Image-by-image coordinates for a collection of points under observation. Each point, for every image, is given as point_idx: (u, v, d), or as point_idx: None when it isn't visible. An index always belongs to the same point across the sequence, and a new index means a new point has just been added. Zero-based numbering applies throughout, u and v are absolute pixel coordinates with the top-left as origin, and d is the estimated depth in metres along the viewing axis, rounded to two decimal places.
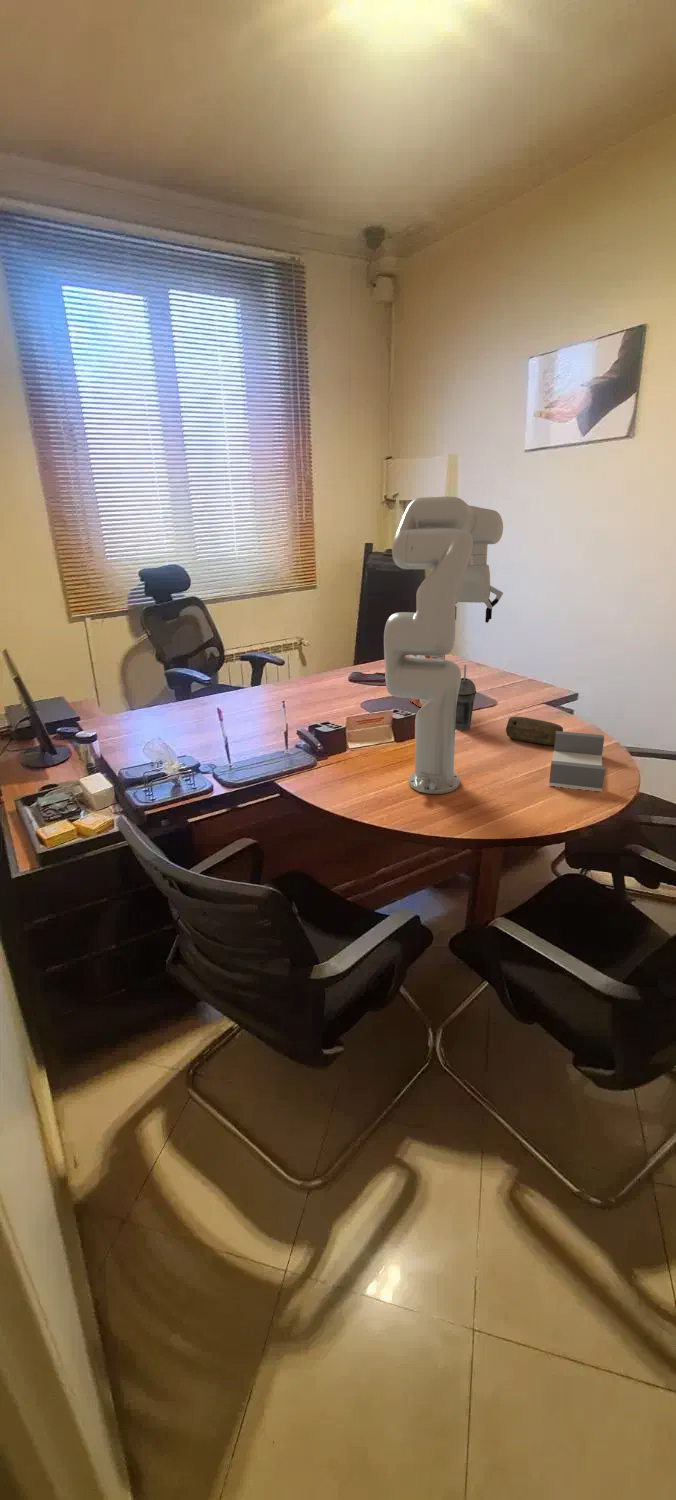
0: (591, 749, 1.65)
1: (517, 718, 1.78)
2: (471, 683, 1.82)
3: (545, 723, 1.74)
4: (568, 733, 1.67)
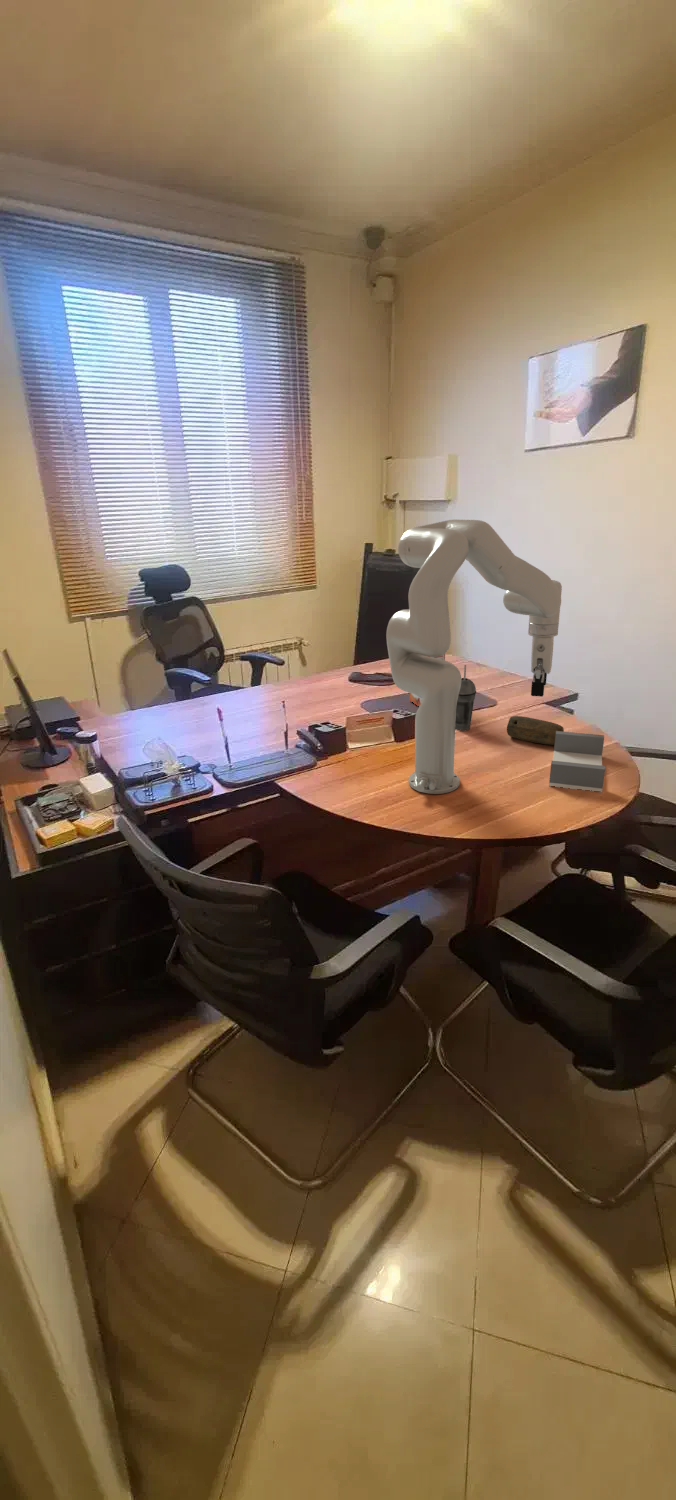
0: (591, 749, 1.65)
1: (518, 717, 1.78)
2: (471, 683, 1.82)
3: (546, 723, 1.74)
4: (568, 733, 1.67)
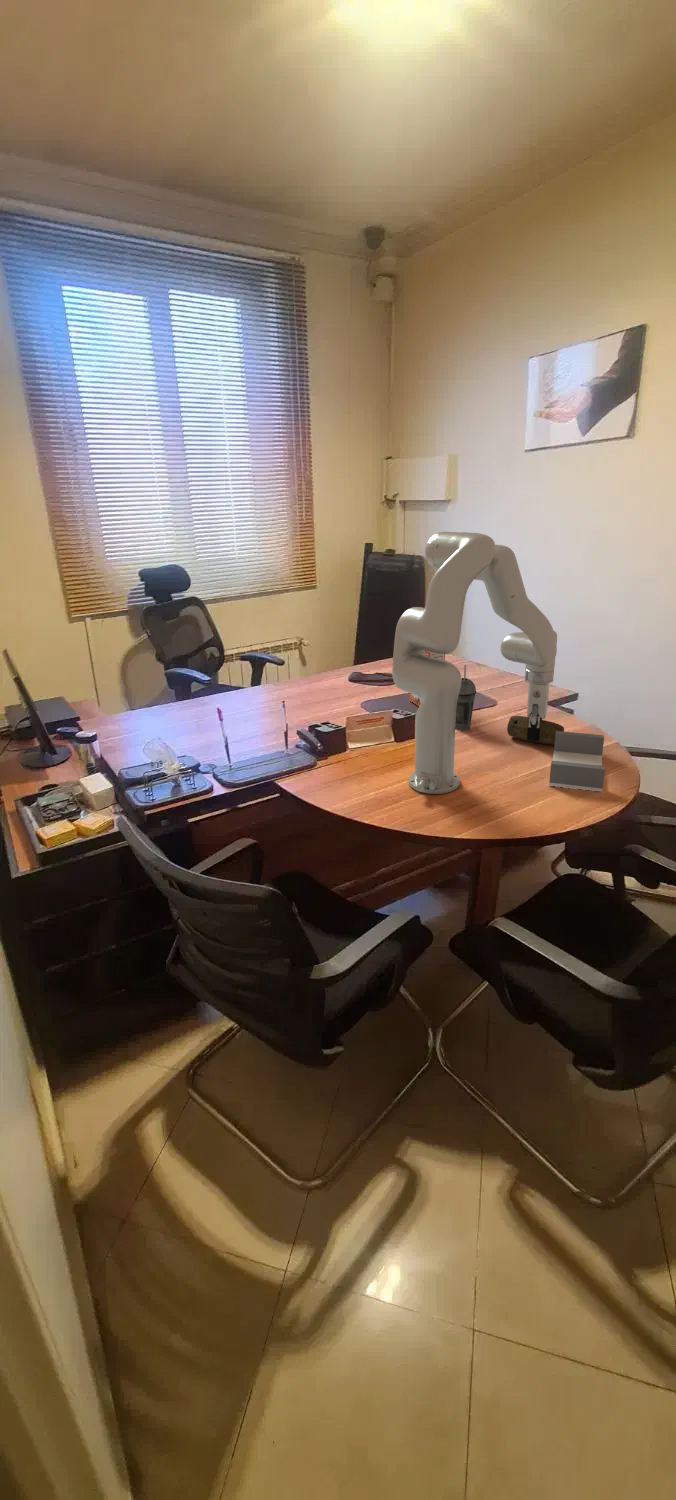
0: (591, 749, 1.65)
1: (518, 717, 1.78)
2: (471, 683, 1.82)
3: (546, 723, 1.74)
4: (568, 733, 1.67)
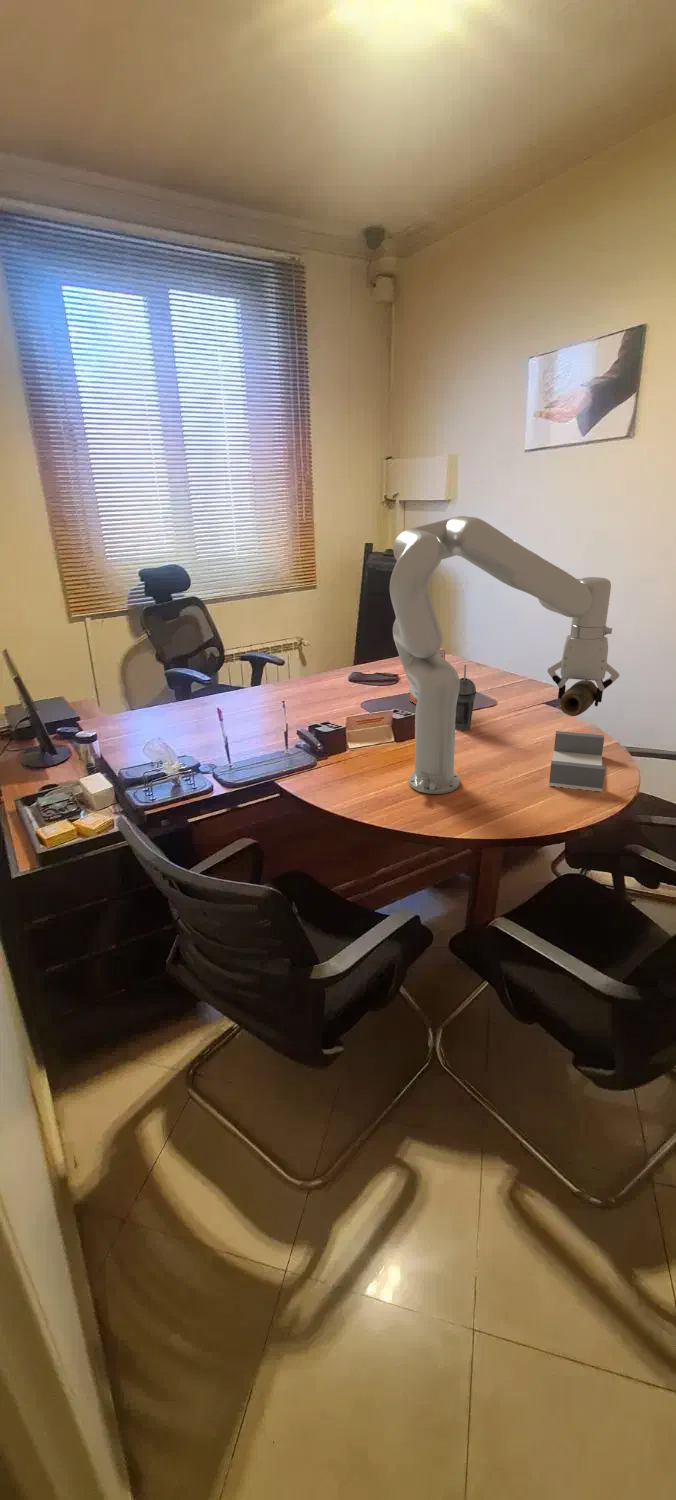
0: (591, 749, 1.65)
1: (579, 690, 1.49)
2: (471, 683, 1.82)
3: (587, 682, 1.55)
4: (568, 733, 1.67)
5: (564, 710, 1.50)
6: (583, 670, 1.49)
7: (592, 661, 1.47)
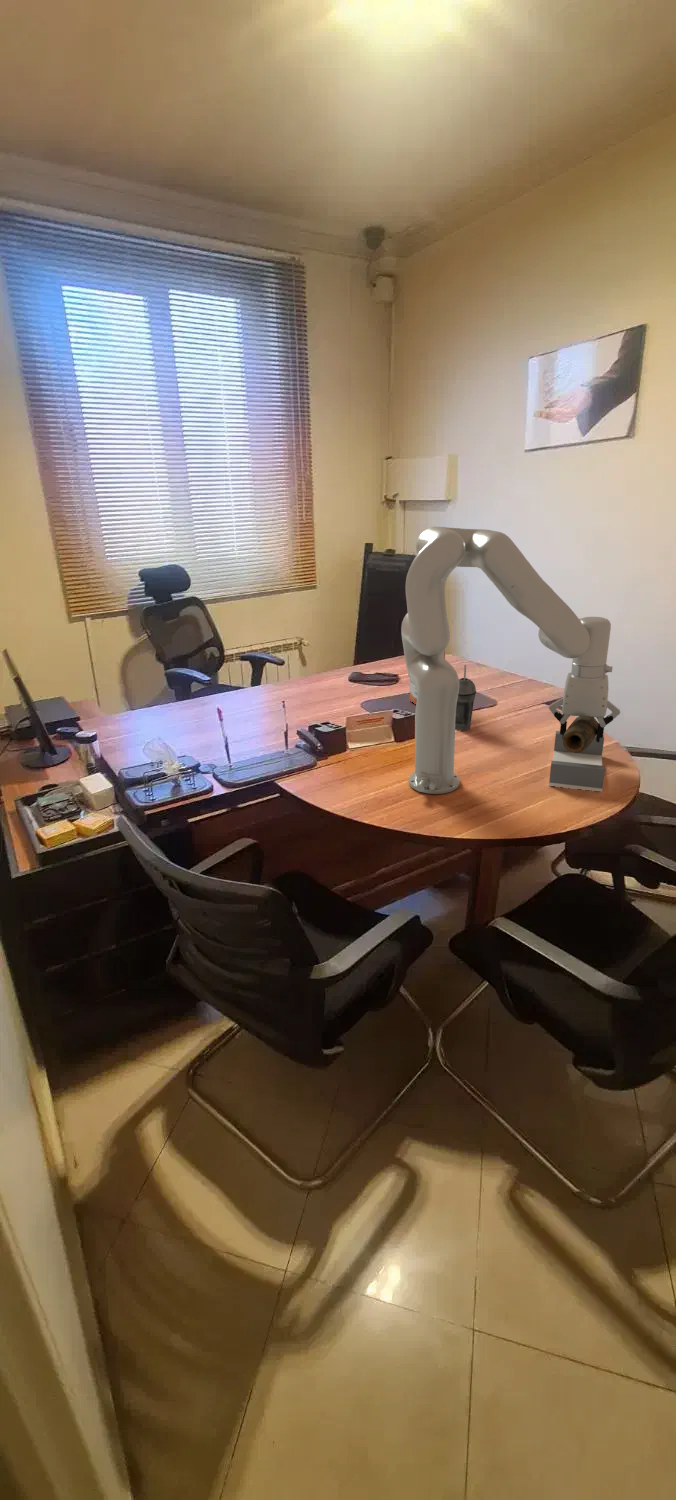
0: (591, 749, 1.65)
1: (581, 727, 1.51)
2: (471, 683, 1.82)
3: (587, 717, 1.57)
4: None
5: (567, 747, 1.52)
6: (584, 708, 1.51)
7: (594, 699, 1.49)
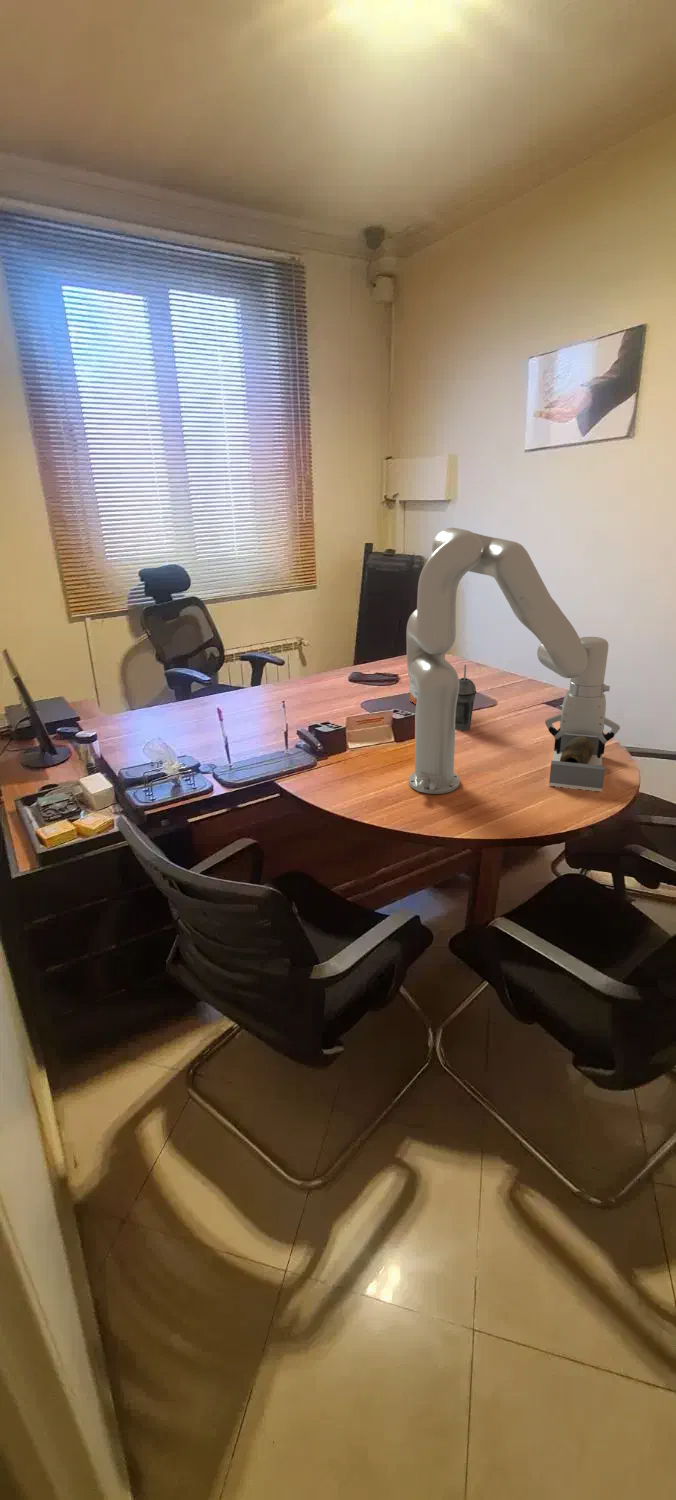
0: None
1: (577, 750, 1.53)
2: (471, 683, 1.82)
3: (583, 739, 1.59)
4: (568, 733, 1.67)
5: None
6: (582, 726, 1.53)
7: (591, 718, 1.51)
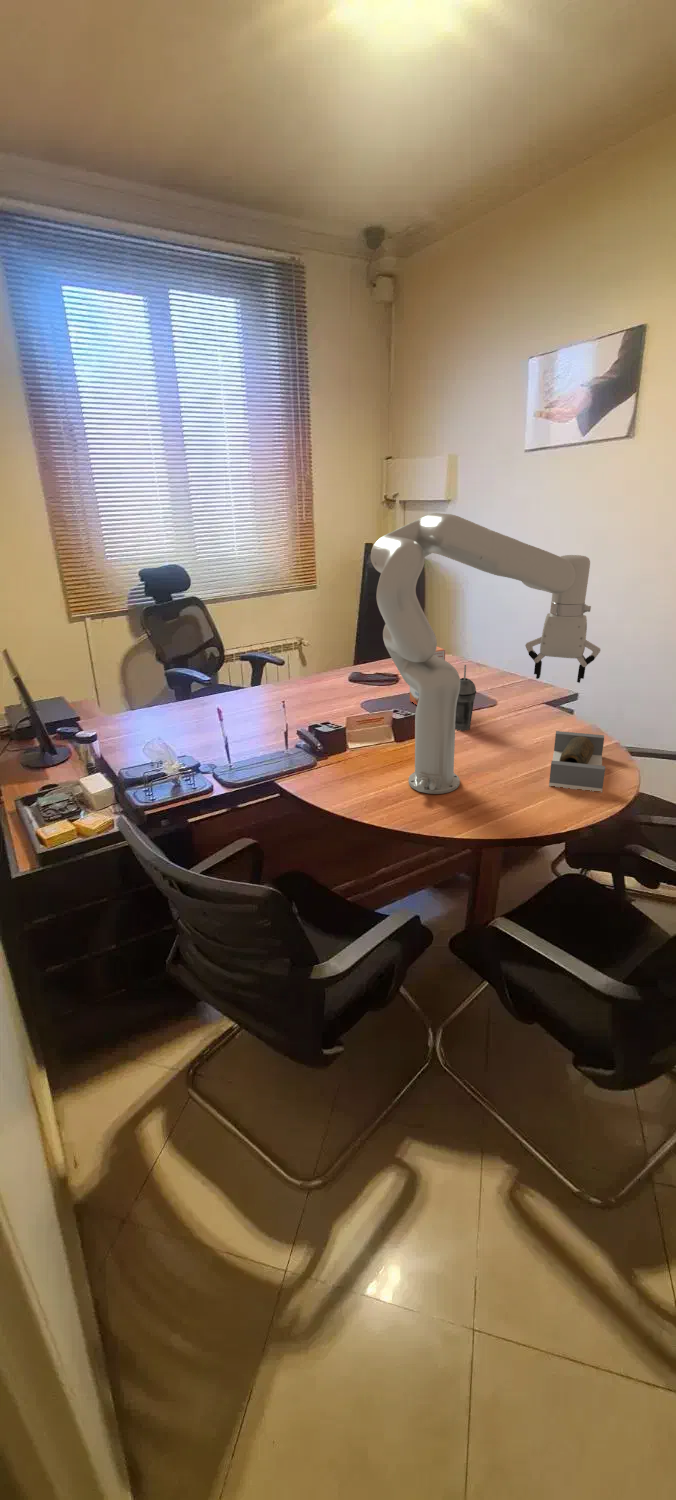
0: None
1: (577, 750, 1.53)
2: (471, 683, 1.82)
3: (583, 739, 1.59)
4: (568, 733, 1.67)
5: None
6: (561, 648, 1.50)
7: (571, 639, 1.49)
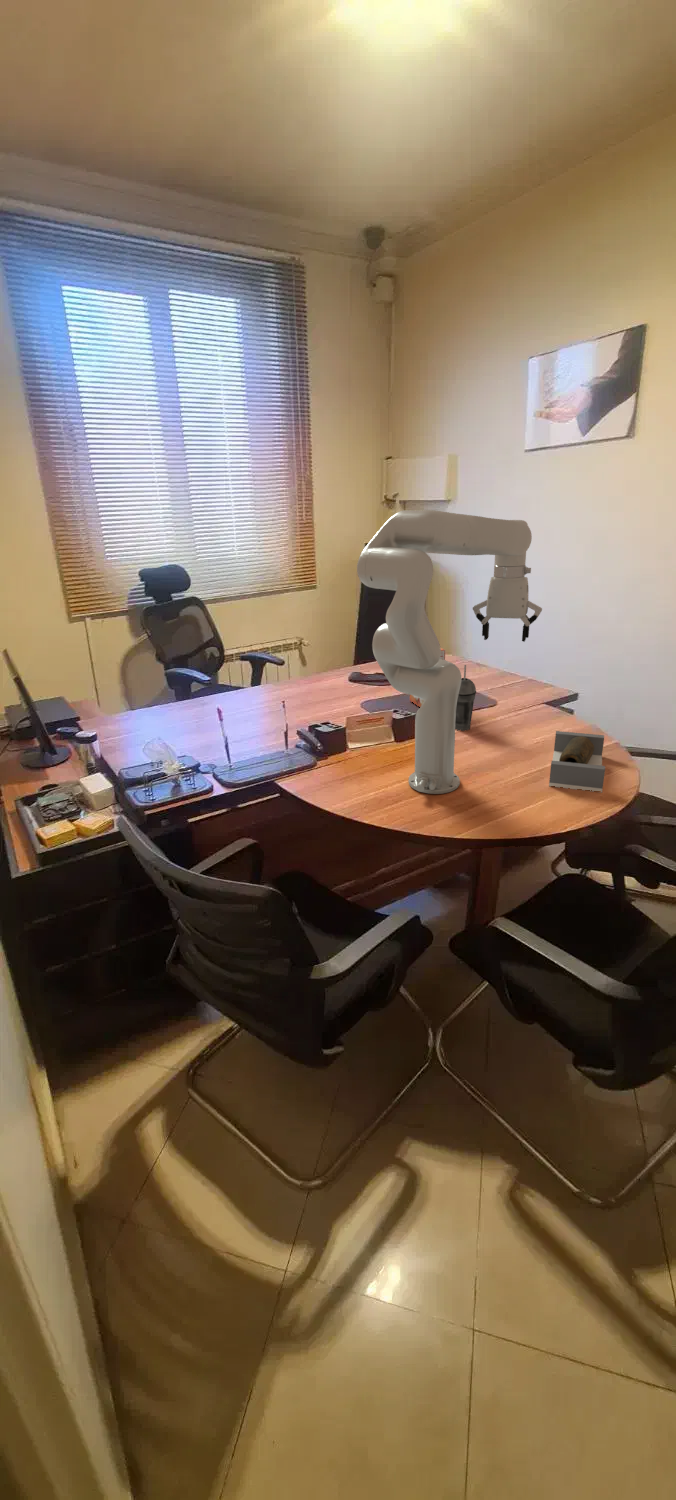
0: None
1: (577, 750, 1.53)
2: (471, 683, 1.82)
3: (583, 739, 1.59)
4: (568, 733, 1.67)
5: None
6: (506, 609, 1.59)
7: (514, 600, 1.58)
